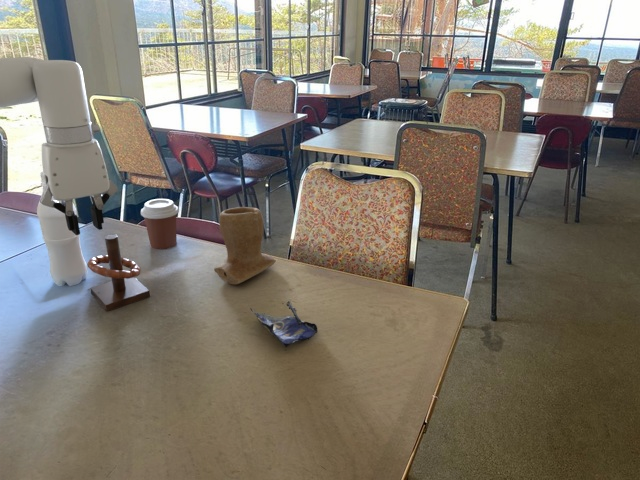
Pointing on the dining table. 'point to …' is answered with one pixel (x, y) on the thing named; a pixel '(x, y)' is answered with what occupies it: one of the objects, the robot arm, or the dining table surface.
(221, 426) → the dining table surface
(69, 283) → the water bottle
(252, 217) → the stone cup
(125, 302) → the ring toss peg
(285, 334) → the snack package
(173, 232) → the coffee cup
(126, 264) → the hanging ring
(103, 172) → the robot arm
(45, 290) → the dining table surface
